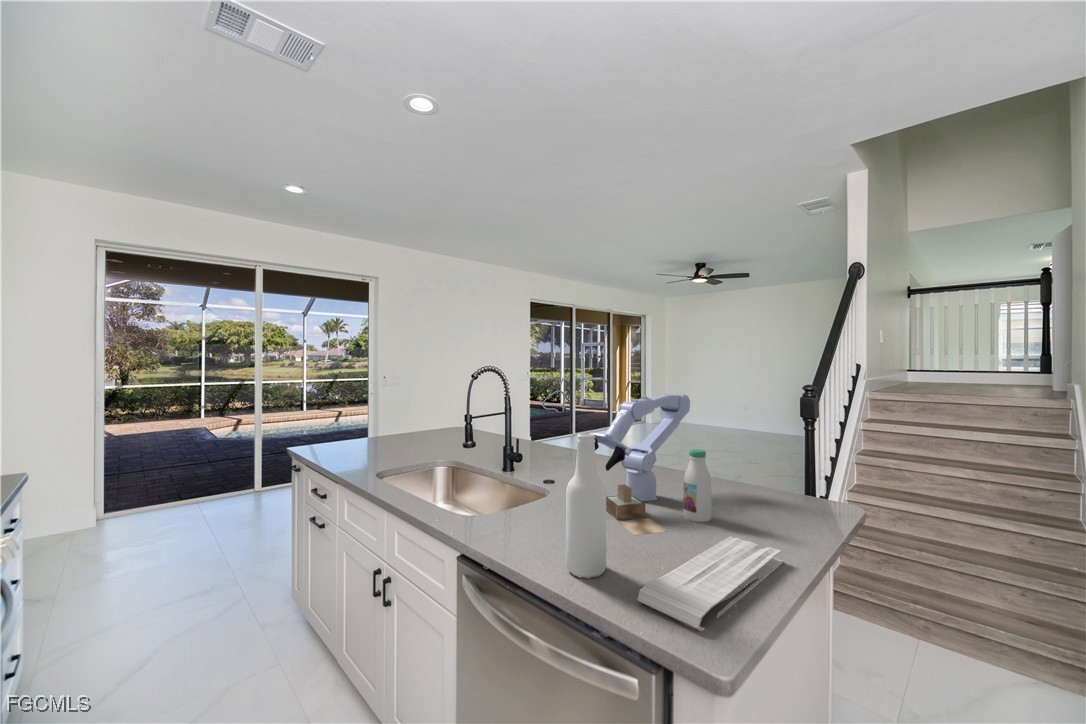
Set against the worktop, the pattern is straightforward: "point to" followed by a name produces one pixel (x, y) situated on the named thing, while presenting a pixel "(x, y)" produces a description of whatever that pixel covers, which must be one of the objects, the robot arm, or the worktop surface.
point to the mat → (642, 526)
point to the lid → (624, 496)
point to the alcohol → (586, 514)
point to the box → (625, 509)
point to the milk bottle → (697, 488)
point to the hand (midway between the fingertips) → (595, 463)
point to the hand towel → (709, 580)
